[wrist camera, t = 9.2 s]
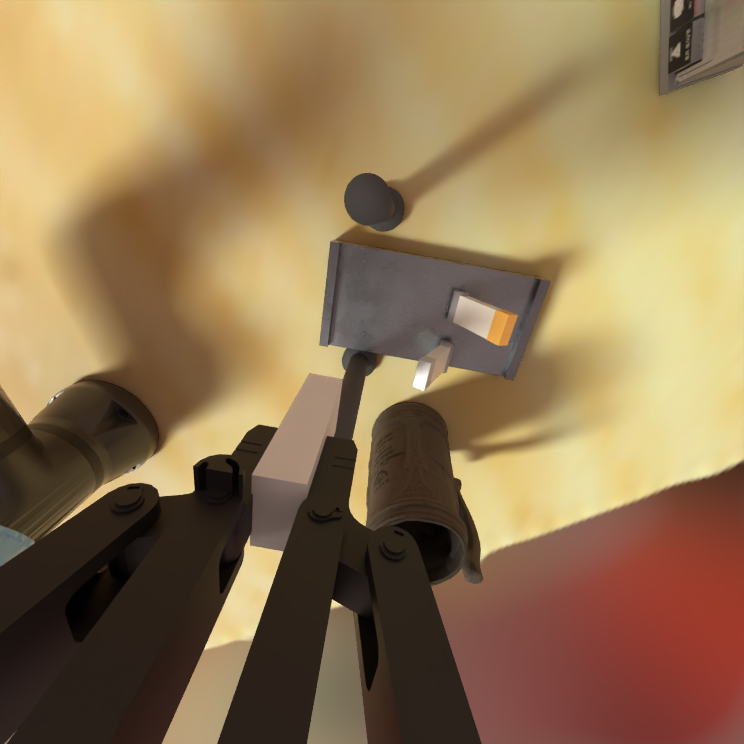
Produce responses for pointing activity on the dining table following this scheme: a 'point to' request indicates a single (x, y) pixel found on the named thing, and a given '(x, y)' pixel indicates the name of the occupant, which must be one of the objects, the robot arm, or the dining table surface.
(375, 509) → the beer stein
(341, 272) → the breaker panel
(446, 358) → the breaker paddle
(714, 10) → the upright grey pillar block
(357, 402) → the cable post far
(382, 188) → the disc
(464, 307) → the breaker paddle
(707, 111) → the dining table surface
